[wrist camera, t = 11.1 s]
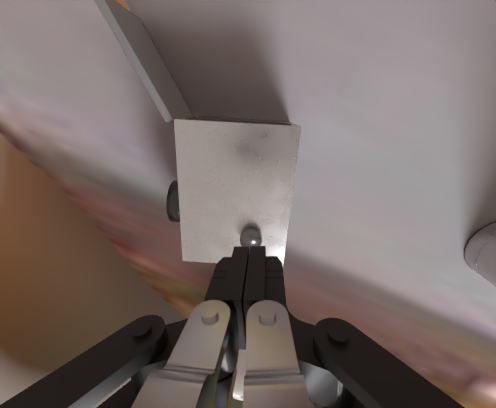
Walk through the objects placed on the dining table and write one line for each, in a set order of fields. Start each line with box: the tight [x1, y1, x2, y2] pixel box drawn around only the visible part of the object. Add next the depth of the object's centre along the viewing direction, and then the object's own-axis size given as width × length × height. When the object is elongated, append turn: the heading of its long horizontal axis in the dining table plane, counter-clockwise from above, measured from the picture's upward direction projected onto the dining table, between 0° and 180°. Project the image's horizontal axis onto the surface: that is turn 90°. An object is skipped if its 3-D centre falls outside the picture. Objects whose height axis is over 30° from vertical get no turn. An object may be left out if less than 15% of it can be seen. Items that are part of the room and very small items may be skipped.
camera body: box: [167, 116, 301, 267], centre depth 29 cm, size 14×16×10 cm
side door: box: [94, 0, 193, 123], centre depth 25 cm, size 12×2×8 cm, turn 27°
